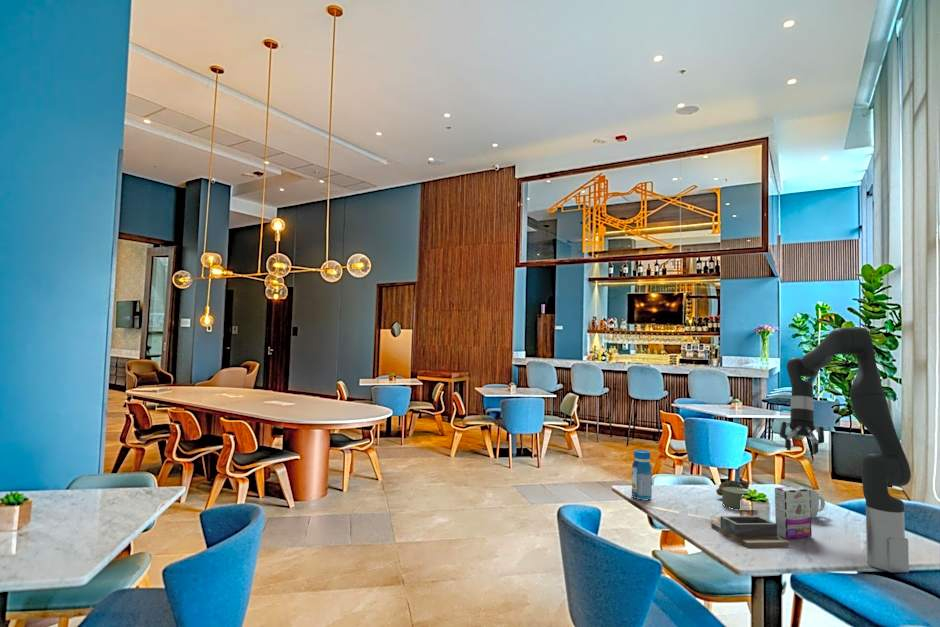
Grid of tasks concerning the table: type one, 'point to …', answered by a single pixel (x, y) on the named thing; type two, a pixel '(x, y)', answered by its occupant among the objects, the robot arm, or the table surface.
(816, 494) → the mug
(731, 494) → the dark grey bowl
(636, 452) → the beverage bottle
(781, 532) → the candy bar box
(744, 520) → the display stand
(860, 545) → the table surface
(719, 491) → the decorative turtle
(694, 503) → the table surface
